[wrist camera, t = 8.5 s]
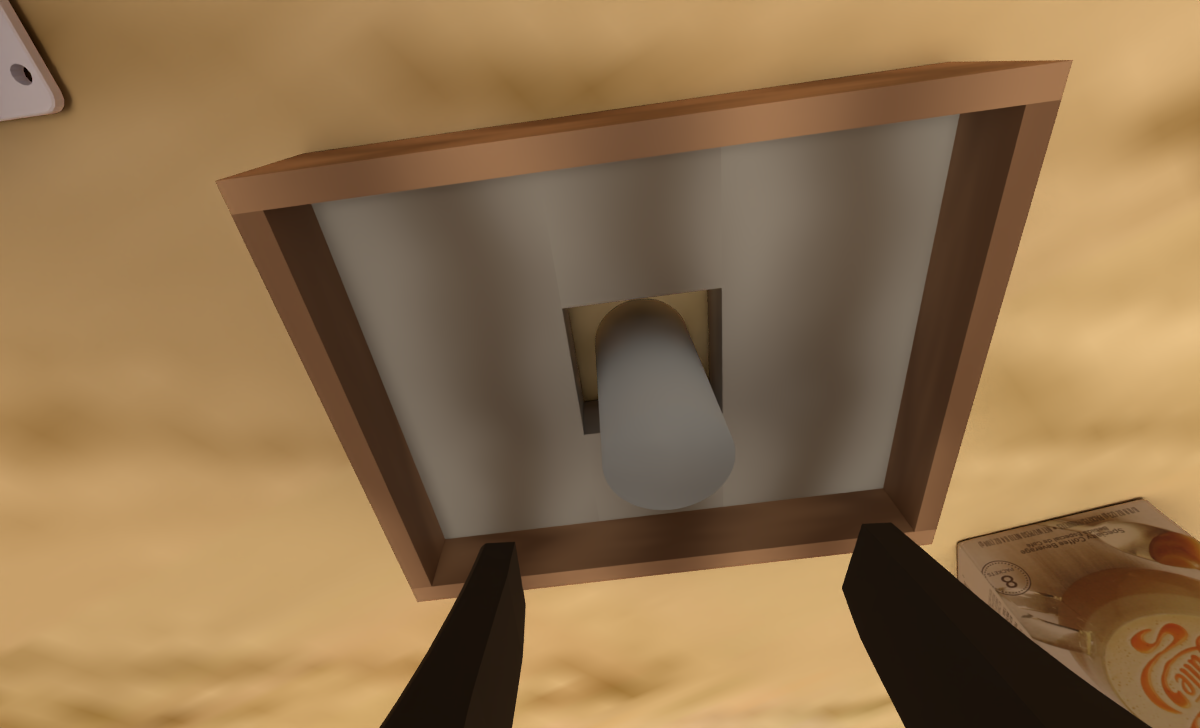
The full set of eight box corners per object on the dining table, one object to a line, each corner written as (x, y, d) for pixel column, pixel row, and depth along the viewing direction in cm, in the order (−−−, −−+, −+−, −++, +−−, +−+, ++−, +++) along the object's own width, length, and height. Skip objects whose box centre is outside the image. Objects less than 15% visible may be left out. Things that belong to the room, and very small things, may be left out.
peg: (593, 380, 21) (599, 509, 15) (597, 297, 19) (605, 405, 13) (681, 382, 21) (723, 510, 15) (693, 300, 19) (746, 408, 13)
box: (443, 515, 24) (417, 602, 20) (302, 153, 16) (214, 181, 12) (873, 464, 24) (931, 544, 20) (948, 62, 16) (1072, 60, 12)
